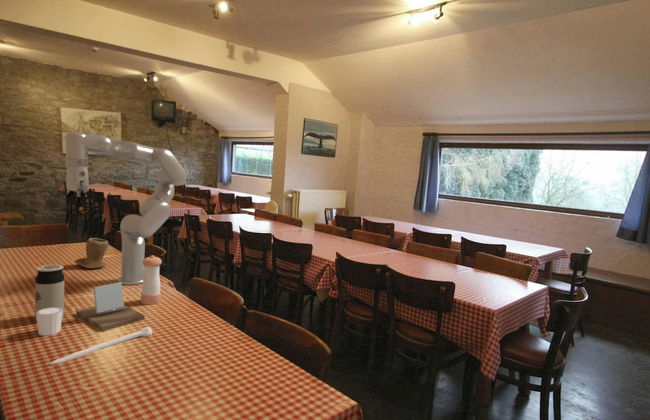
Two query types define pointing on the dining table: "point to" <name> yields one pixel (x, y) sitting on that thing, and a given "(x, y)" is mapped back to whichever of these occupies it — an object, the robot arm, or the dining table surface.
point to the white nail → (105, 345)
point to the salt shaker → (151, 281)
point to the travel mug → (49, 287)
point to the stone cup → (94, 253)
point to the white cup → (49, 320)
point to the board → (110, 317)
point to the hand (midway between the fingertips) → (76, 205)
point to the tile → (108, 298)
